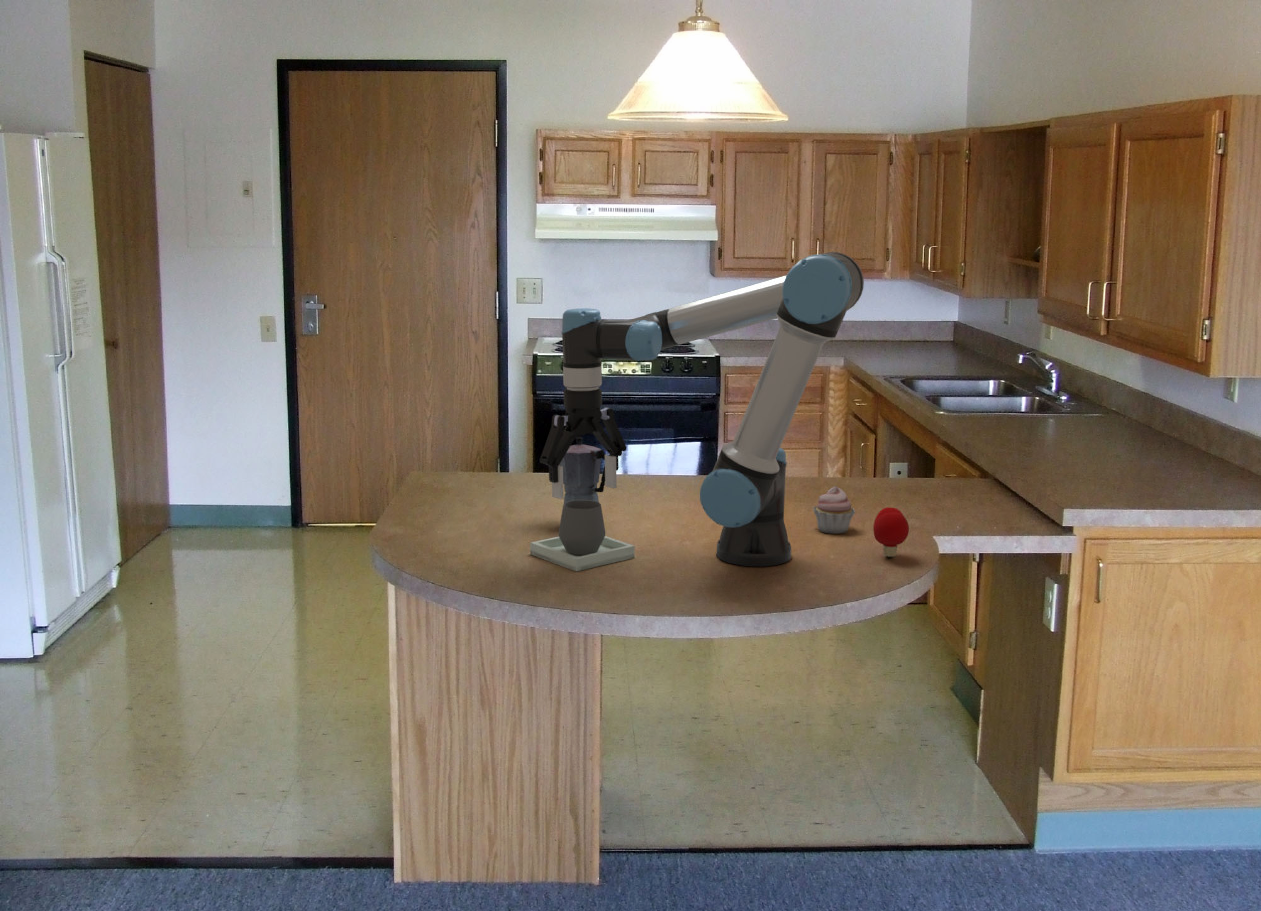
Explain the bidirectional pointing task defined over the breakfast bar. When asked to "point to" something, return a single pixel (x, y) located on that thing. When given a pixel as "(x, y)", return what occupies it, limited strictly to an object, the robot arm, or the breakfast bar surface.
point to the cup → (581, 527)
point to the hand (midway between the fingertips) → (584, 492)
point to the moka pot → (582, 472)
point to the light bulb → (890, 530)
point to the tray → (606, 554)
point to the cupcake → (834, 512)
